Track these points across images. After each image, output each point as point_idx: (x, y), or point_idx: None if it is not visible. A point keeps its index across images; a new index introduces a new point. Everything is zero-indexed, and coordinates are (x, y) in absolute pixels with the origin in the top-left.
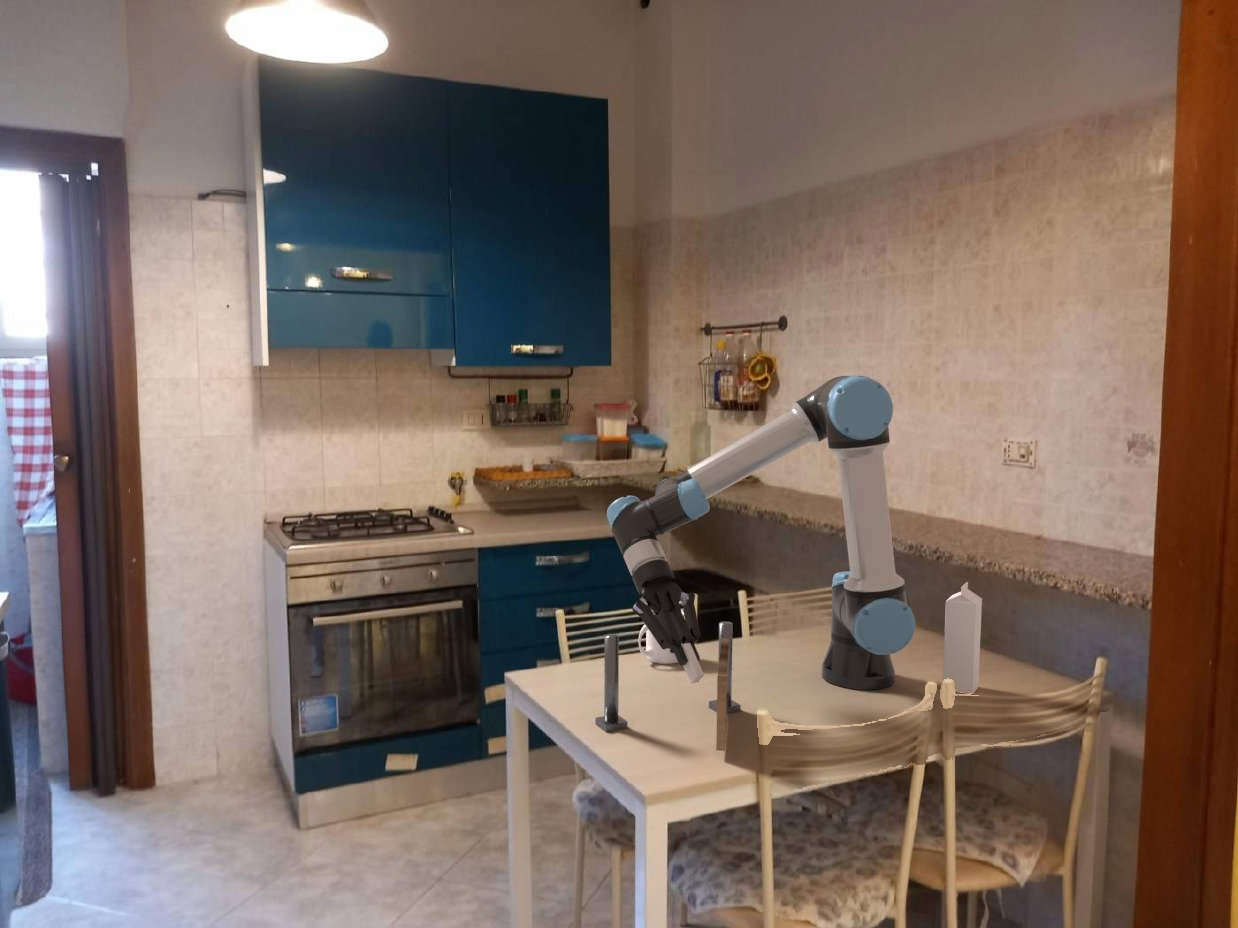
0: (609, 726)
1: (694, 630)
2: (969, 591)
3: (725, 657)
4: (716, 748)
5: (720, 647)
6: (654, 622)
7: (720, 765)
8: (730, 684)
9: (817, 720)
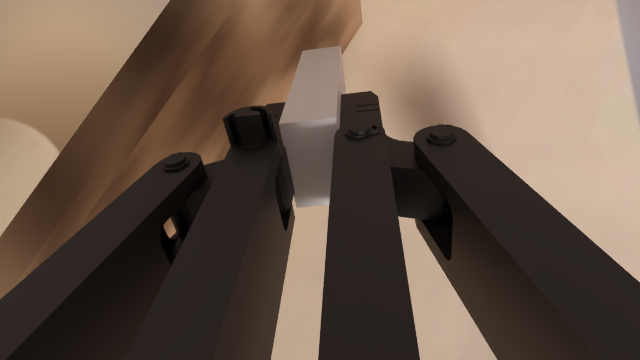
0: None
1: (170, 188)
2: None
3: (159, 33)
4: (361, 21)
5: (79, 194)
6: (594, 253)
7: (372, 3)
8: None
9: (16, 150)
